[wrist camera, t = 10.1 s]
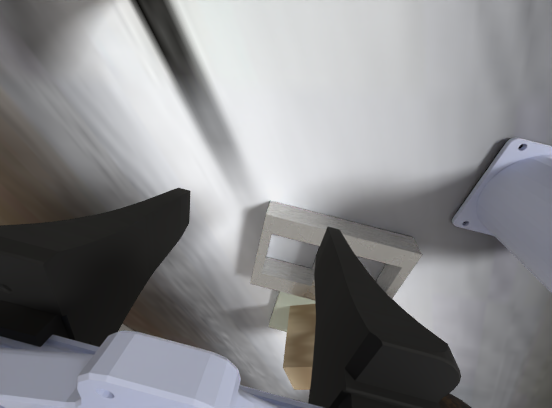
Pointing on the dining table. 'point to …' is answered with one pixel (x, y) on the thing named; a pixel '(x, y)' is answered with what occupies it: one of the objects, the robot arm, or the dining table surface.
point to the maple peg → (300, 345)
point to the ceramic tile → (285, 309)
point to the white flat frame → (311, 229)
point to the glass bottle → (452, 402)
